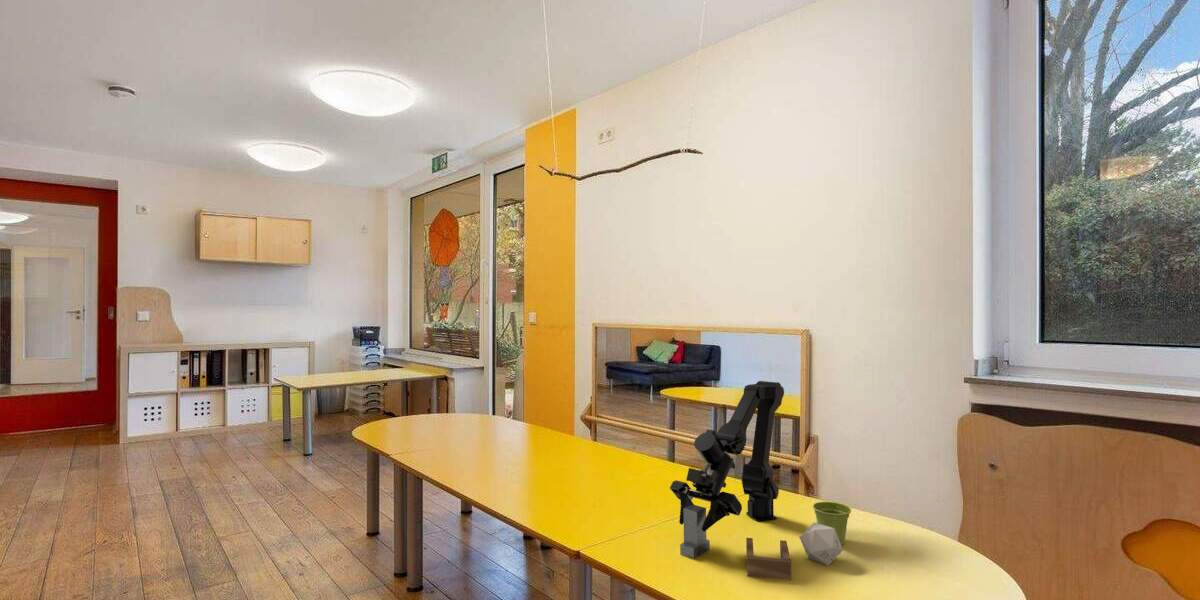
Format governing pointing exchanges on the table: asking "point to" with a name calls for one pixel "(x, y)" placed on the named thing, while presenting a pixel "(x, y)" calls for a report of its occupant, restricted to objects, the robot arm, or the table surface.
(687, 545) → the grey pillar with base
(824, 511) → the plant pot
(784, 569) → the brown u-shaped block
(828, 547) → the die
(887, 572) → the table surface
